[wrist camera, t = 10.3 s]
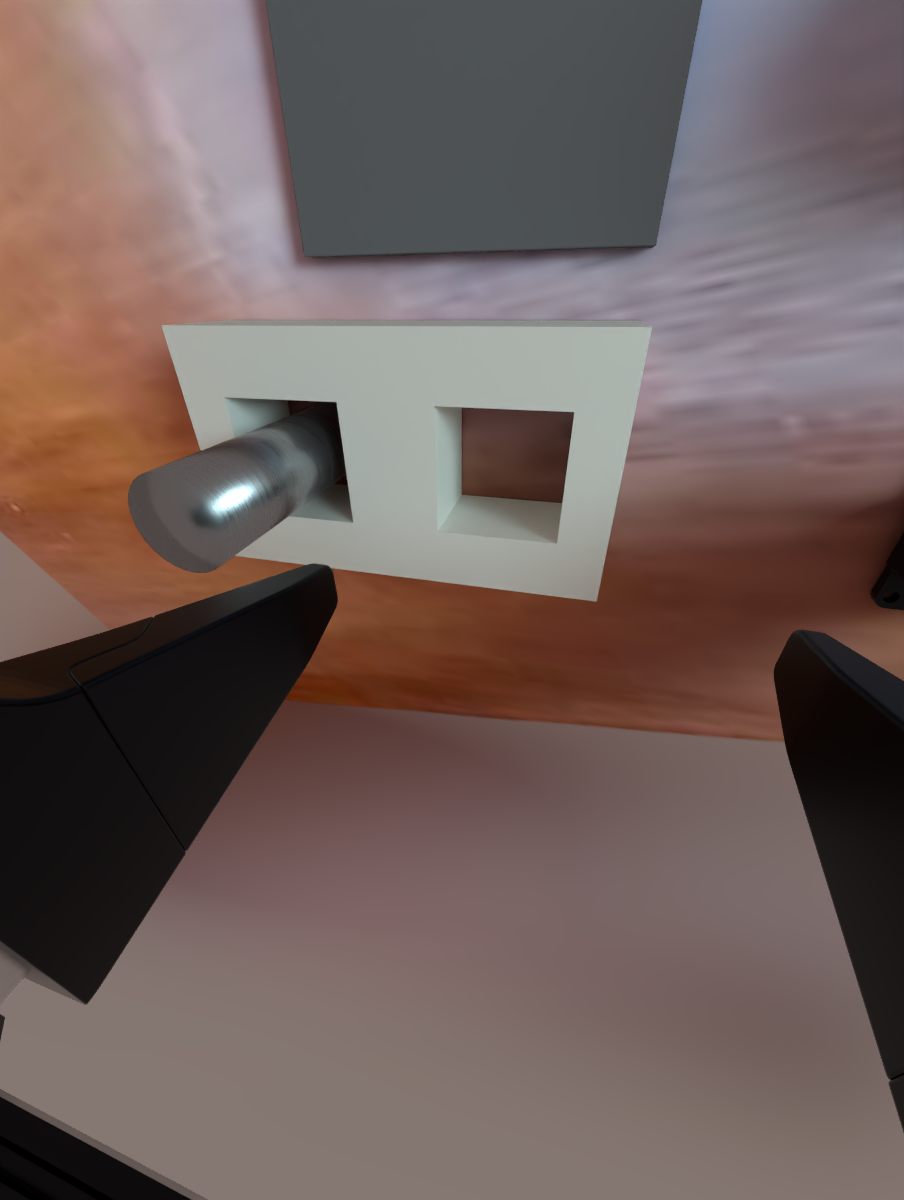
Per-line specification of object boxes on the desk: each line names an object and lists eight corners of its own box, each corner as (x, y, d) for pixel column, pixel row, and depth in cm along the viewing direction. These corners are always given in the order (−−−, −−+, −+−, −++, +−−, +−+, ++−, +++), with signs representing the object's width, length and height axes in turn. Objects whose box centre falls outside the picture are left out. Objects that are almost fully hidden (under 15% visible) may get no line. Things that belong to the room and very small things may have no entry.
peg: (367, 401, 19) (207, 476, 11) (374, 470, 21) (239, 578, 13) (303, 398, 20) (110, 467, 12) (315, 466, 22) (153, 566, 14)
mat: (756, -301, 9) (765, -334, 9) (653, 246, 14) (655, 244, 14) (251, -170, 12) (236, -190, 11) (312, 257, 17) (304, 256, 16)
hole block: (639, 320, 16) (652, 326, 12) (595, 553, 21) (596, 601, 17) (234, 320, 19) (161, 325, 16) (281, 520, 24) (233, 555, 21)
